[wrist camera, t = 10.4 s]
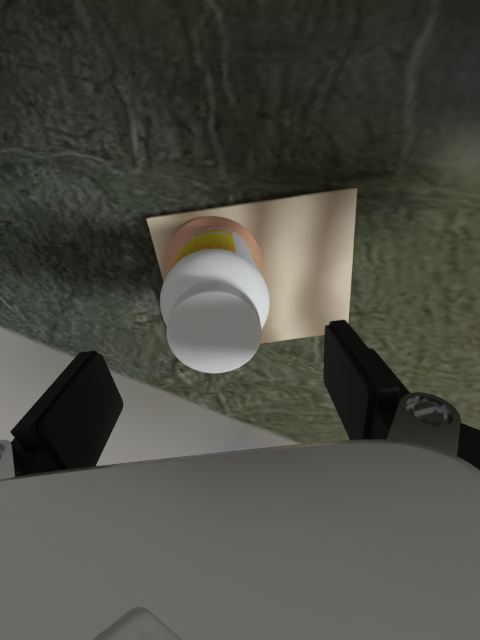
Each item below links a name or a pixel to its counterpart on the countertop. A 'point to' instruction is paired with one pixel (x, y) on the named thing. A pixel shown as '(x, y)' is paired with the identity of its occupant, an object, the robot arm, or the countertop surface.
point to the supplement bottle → (214, 302)
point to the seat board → (282, 254)
